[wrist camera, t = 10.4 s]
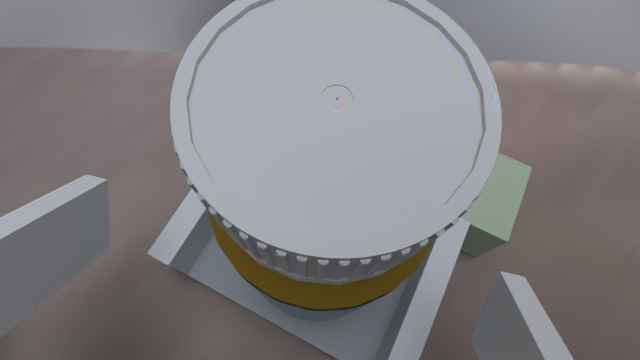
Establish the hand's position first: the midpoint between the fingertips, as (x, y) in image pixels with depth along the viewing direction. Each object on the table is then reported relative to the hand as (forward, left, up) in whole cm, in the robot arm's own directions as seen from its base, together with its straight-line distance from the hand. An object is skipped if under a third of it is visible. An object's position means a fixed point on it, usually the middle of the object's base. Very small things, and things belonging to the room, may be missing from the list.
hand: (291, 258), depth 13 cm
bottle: (0, -2, -8) cm, 9 cm away
